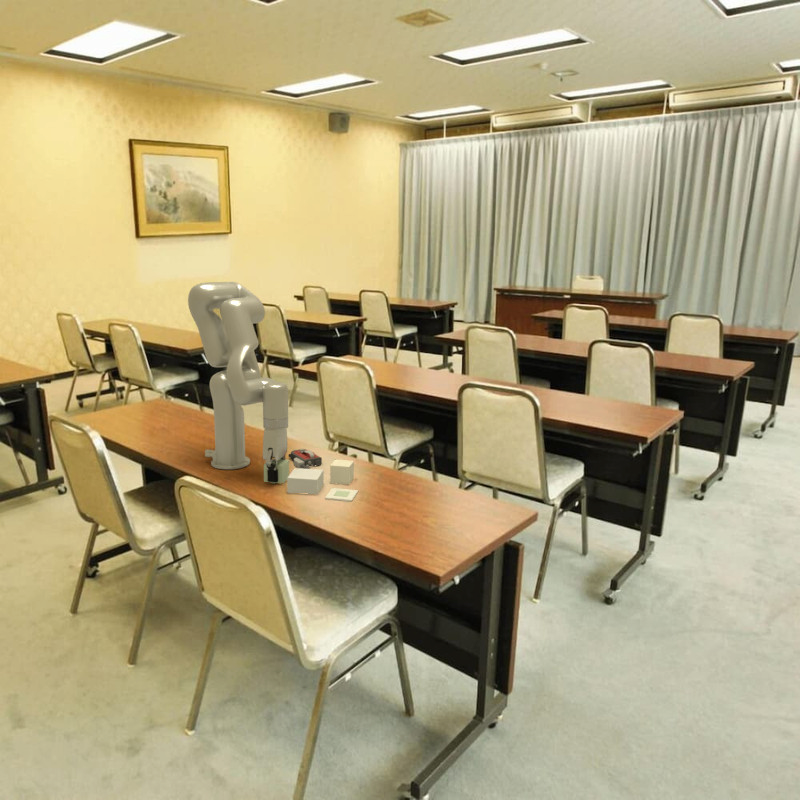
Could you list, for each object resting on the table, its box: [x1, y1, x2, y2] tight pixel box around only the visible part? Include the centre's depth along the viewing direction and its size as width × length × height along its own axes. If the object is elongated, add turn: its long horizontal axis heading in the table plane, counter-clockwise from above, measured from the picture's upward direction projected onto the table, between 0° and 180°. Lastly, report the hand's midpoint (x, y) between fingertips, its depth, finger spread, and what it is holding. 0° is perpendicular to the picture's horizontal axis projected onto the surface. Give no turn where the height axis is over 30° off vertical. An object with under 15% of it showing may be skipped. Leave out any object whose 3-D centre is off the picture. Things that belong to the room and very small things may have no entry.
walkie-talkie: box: [288, 448, 323, 469], centre depth 219 cm, size 9×4×20 cm
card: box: [324, 487, 359, 502], centre depth 193 cm, size 8×8×1 cm
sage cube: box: [263, 458, 290, 484], centre depth 204 cm, size 6×6×6 cm
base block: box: [286, 467, 325, 495], centre depth 198 cm, size 9×9×5 cm
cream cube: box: [329, 459, 355, 486], centre depth 205 cm, size 6×6×6 cm
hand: (276, 477), depth 204 cm, fingers open, 6 cm apart
